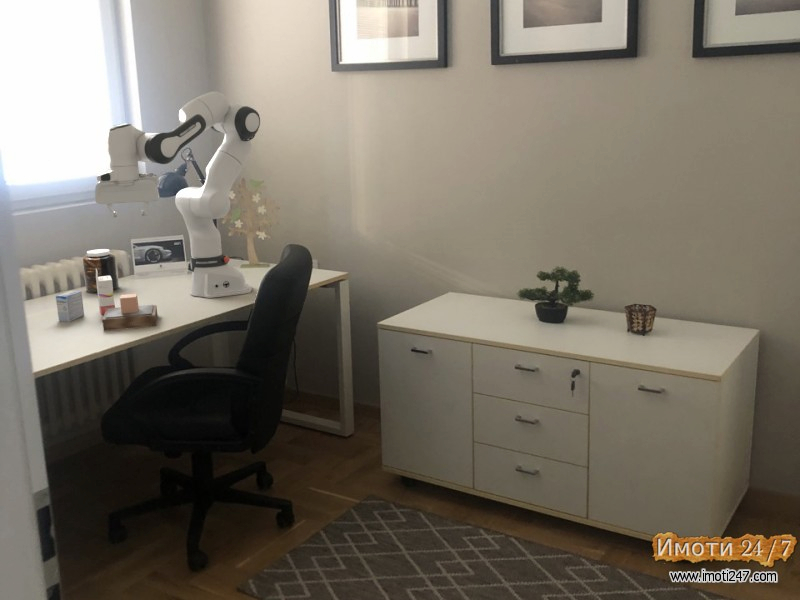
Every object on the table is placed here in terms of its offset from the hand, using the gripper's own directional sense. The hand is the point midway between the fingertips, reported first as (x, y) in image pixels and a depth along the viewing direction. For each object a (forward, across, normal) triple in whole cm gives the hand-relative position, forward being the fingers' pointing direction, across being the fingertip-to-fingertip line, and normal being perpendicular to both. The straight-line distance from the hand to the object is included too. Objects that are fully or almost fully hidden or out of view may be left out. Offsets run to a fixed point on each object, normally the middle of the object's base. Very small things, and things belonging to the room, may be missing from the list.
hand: (129, 216), depth 280 cm
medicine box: (+33, +22, 0) cm, 40 cm away
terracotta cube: (+29, +2, +13) cm, 32 cm away
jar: (+33, +16, -43) cm, 57 cm away
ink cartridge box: (+33, +11, -6) cm, 36 cm away
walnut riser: (+33, +2, +13) cm, 36 cm away
